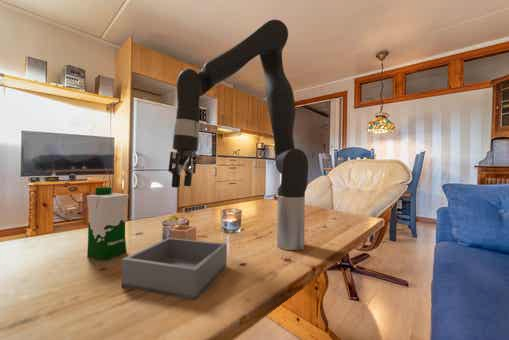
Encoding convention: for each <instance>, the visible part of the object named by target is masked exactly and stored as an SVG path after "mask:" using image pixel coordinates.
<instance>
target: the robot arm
mask: <svg viewBox="0 0 509 340" xmlns="http://www.w3.org/2000/svg"><path fill="white" fill-rule="evenodd" d="M288 38H289V29H288V27H287V25H286V24H285V23H284V22H283V21H282V20H279V19H270V20H268V21H266V22H265V23H264V24H262V25H261V26H260V27H259V28H258V29H256V30H255V31H254V32H253V33H251V34H250V35H248V36H247V37H246V38H245V39H243V40H242V41H240V42H239V43H237V44H236V45H234V46H233V47H231V48H230V49H228V50H225V52H223V53H221V54H219V55H217V56H215V57H213V58H211V59H210V60H208V61H206V62H205V63H204V65H203V67H202V69H201V70H200V71H198V72H197V71H196V70H195V69H192V68H185V69H183V70H182V71H180V72H179V74H178V77H177V81H176V82H177V83H176V93H177V108H176V115H175V118H176V119H175V123H174V128H173V129H174V130H173V139H172V140H173V141H172V149H173V150H174V151H170V154H169V161H168V162H169V163H168V171H167V172H169V173H170V174H171V176H172V177H171V188H175V189H178V188H180V186H181V178H182V177H181V174H182V172H183V170H184V180H183V185H184V187H191V186H192V178H193V175H194V174H196V170H197V169H196V168H197V167H196V166H197V155H195V156H194V155H193V153H197V152H198V149H199V137H200V115H201V109H200V108H201V107H200V98H201V97H202V96H204V95H205V94H206V93H208V92H209V91H211V89H212V88H213V87H215V86H216V85H217V84H218V83H221V82H222V81H223V82H224V80H227V79H229V78H230V77H231V76H233V75H235V74H236V73H237V72H239V71H240V70H242V68H243V67H244V66H246V65H247V64H248V63H249V62H251V61H252V60H253V59H255V58H256V57H257V56H259V59H260V63H261V67H262V71H263V75H264V77H263V78H264V84H265V85H264V87H265V94H266V101H267V102H266V103H267V108H268V114H269V118H270V119H269V120H270V125H271V130H272V137H273V143H274V163H275V167H276V170H277V171H278V173H279V174H281V179H280V180H281V181H280V185H279V187H278V188H277V212H276V213H277V214H276V215H277V218H276V219H277V222H276V223H277V225H276V226H277V227H276V231H277V232H276V233H277V235H276V245H277V247H278V248H280V249H283V250H285V251H300V250H301V251H304V250H305V240H306V239H305V233H306V231H305V230H306V228H305V227H306V218H305V216H306V215H305V213H306V212H305V207H306V206H305V204H306V203H305V200H306V190H307V189H308V183H309V181H308V179H309V162H308V155H307V154H306V153H305V152H304V151H303V150H301V149H299V148H295V142H294V126H295V121H296V120H295V119H296V102H295V94H294V92H293V87H292V85H291V83H290V82H289V80H288V78H287V75H286V74H285V71H284V65H283V63H284V62H283V50H284V48H285V46H286V45H287V41H288Z"/></svg>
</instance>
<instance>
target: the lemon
mask: <svg viewBox="0 0 509 340" xmlns="http://www.w3.org/2000/svg"><path fill="white" fill-rule="evenodd" d="M171 219H180V218H179V216H176V215H175V214H173V215H172V216H170V217H169V218H167V220H171Z"/></svg>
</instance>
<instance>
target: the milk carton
mask: <svg viewBox="0 0 509 340" xmlns="http://www.w3.org/2000/svg"><path fill="white" fill-rule="evenodd" d="M94 190H95V193H94V194H88V195H86V201H87V209H88V218H87V219H88V223H87V224H88V226H87V227H88V228H87V230H88V231H87V232H88V233H87V258H90V259H95V260H100V261H103V262H104V261H107V260H110V259H112V258H116V257H118V256H121V255H122V254H126V253H127V242H126V241H127V240H126V213H127V212H126V208H127V205H128V200H129V196H130V195H129V194H126V193H116V192H112V186H111V187H109V186H108V187H107V186H103V187H101V186H99V187H95V189H94Z"/></svg>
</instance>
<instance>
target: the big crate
mask: <svg viewBox="0 0 509 340" xmlns="http://www.w3.org/2000/svg"><path fill="white" fill-rule="evenodd" d="M227 247H228V244H227V243H221V242H214V241H213V242H212V241H203V240H197V239H196V240H187V239H177V238H169V237H167V238H165V239H163V240H161V241H158V242H156V243H155V244H152V245H150V246H148V247H146V248H143V249H141V250H139V251H137V252H134V253H132V254H130V255H128V256H126V257H124V258H122V259H121V285H120V286H121V287H122V288H127V289H130V290H131V289H132V290H138V291H141V292H146V293H147V292H148V293H153V294H158V295H164V296H168V297H174V298H179V299H184V300H188V301H196V300H197V299H198V298H199V297H200V296H201V295H202V294H203V293H204V292H205V291H206V289H207V288H208V287H209V286H210V285H211V284H212V283H213V282H214V281H215V279H216V278H217V277H218V276H219V275H220V274H221V273H222V272H223V270H225V268H226V267H227V263H228V262H227V259H228V258H227V256H228V255H227V254H228V253H227V252H228V248H227Z"/></svg>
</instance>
